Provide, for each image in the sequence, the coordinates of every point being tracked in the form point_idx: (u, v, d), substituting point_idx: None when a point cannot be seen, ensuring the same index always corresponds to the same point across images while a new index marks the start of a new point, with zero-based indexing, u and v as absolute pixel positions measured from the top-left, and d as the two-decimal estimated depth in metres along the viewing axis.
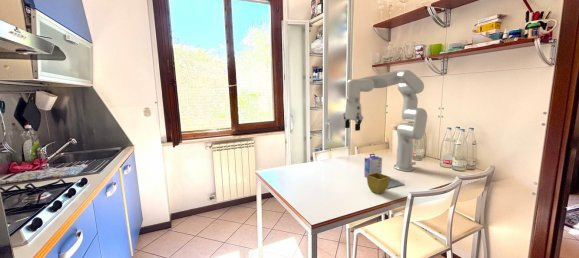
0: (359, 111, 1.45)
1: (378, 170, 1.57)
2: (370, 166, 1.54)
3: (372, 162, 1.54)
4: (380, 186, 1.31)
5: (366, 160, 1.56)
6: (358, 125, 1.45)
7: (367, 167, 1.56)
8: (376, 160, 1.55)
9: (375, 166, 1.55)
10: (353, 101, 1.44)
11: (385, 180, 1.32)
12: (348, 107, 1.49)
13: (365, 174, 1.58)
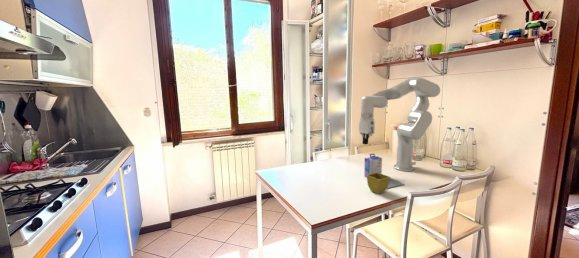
0: (372, 126, 1.56)
1: (378, 170, 1.57)
2: (370, 166, 1.54)
3: (372, 162, 1.54)
4: (380, 186, 1.31)
5: (366, 160, 1.56)
6: (366, 139, 1.61)
7: (367, 167, 1.56)
8: (376, 160, 1.55)
9: (375, 166, 1.55)
10: (367, 116, 1.56)
11: (385, 180, 1.32)
12: (362, 122, 1.60)
13: (365, 174, 1.58)
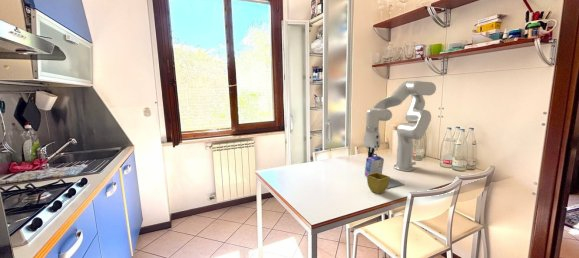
0: (378, 140, 1.53)
1: (378, 171, 1.56)
2: (371, 167, 1.53)
3: (374, 163, 1.53)
4: (380, 186, 1.31)
5: (367, 160, 1.55)
6: (372, 153, 1.57)
7: (368, 167, 1.55)
8: (378, 161, 1.54)
9: (376, 166, 1.54)
10: (372, 130, 1.53)
11: (385, 180, 1.32)
12: (367, 136, 1.57)
13: (365, 173, 1.58)
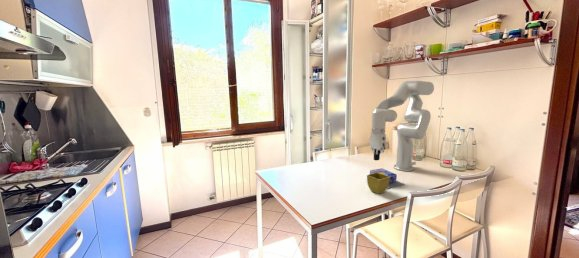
0: (384, 141, 1.48)
1: None
2: None
3: None
4: (380, 186, 1.31)
5: None
6: (378, 155, 1.53)
7: None
8: None
9: None
10: (378, 132, 1.48)
11: (385, 180, 1.32)
12: (372, 137, 1.53)
13: (371, 173, 1.53)
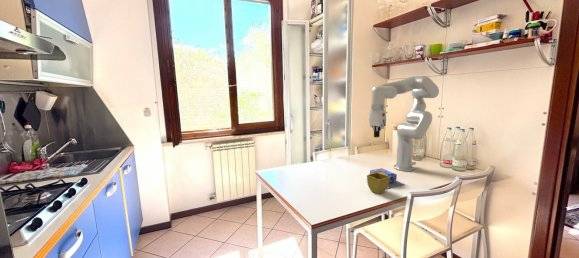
0: (384, 118, 1.49)
1: None
2: None
3: None
4: (380, 186, 1.31)
5: None
6: (378, 132, 1.53)
7: None
8: None
9: None
10: (378, 108, 1.48)
11: (385, 180, 1.32)
12: (372, 114, 1.53)
13: (371, 173, 1.53)
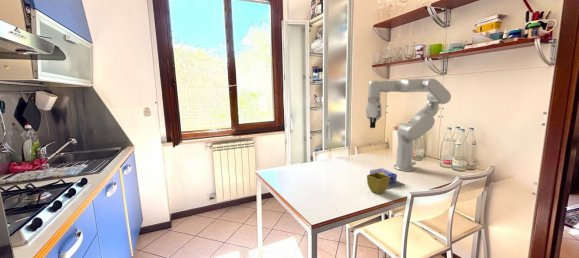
0: (379, 109, 1.61)
1: None
2: None
3: None
4: (380, 186, 1.31)
5: None
6: (374, 123, 1.65)
7: None
8: None
9: None
10: (374, 100, 1.61)
11: (385, 180, 1.32)
12: (369, 106, 1.65)
13: (371, 173, 1.53)
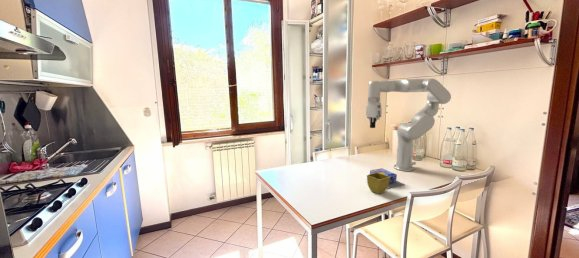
0: (379, 109, 1.61)
1: None
2: None
3: None
4: (380, 186, 1.31)
5: None
6: (374, 123, 1.65)
7: None
8: None
9: None
10: (374, 100, 1.61)
11: (385, 180, 1.32)
12: (369, 106, 1.65)
13: (371, 173, 1.53)
